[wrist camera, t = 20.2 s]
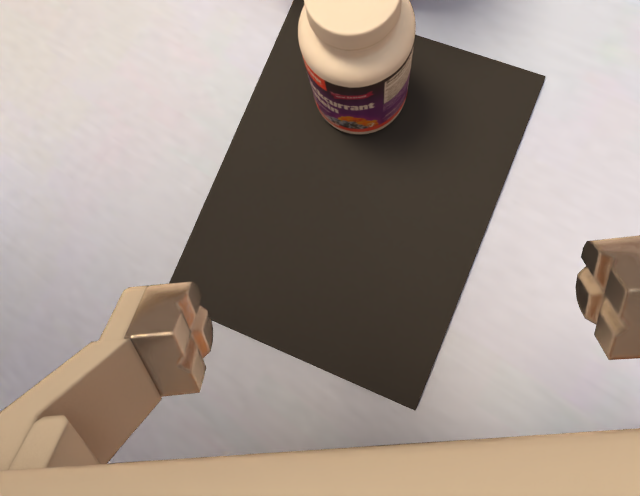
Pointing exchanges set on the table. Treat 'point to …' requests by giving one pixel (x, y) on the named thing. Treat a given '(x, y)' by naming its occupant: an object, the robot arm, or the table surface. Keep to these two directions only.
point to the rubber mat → (358, 214)
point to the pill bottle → (358, 59)
